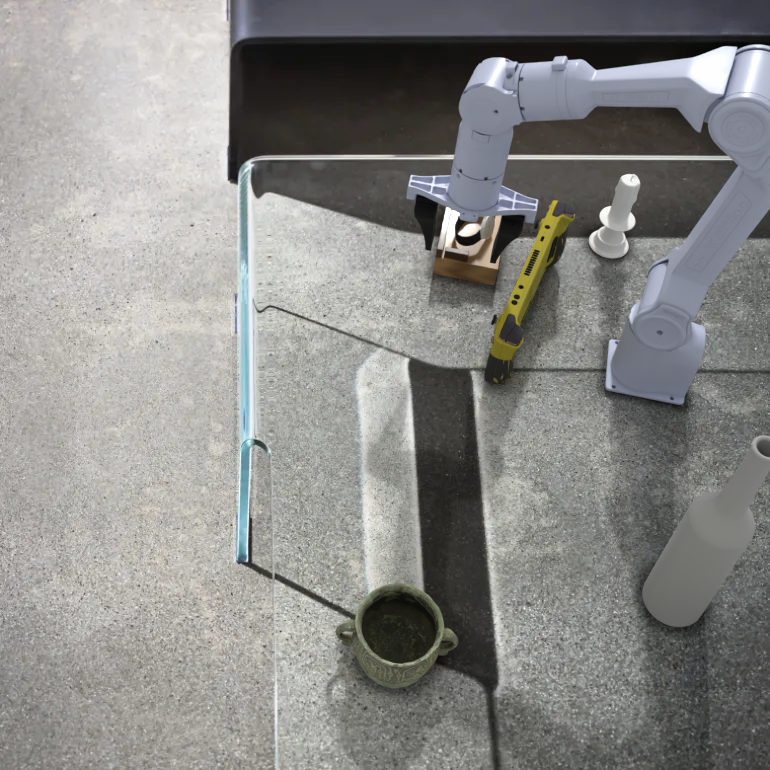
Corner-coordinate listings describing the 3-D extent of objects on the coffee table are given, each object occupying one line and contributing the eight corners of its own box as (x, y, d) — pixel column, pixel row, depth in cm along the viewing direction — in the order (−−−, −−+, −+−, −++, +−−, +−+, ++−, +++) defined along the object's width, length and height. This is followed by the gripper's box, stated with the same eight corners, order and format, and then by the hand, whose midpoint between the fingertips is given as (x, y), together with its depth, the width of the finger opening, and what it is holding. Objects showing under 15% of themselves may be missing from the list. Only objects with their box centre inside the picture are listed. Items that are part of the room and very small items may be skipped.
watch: (476, 256, 146) (481, 236, 143) (443, 241, 147) (447, 220, 144) (502, 220, 150) (507, 200, 147) (470, 206, 151) (475, 185, 148)
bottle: (713, 590, 123) (815, 439, 101) (690, 638, 119) (791, 492, 97) (656, 560, 124) (744, 404, 102) (632, 606, 121) (718, 455, 99)
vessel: (453, 617, 118) (462, 588, 113) (452, 699, 113) (461, 673, 108) (336, 606, 118) (340, 576, 113) (329, 688, 112) (333, 661, 107)
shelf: (505, 221, 154) (511, 196, 151) (494, 285, 147) (500, 261, 143) (446, 210, 155) (450, 185, 151) (432, 273, 147) (436, 248, 144)
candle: (600, 224, 156) (623, 156, 146) (635, 242, 154) (660, 175, 145) (581, 246, 153) (603, 177, 143) (616, 265, 151) (641, 197, 142)
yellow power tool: (532, 247, 152) (548, 190, 144) (563, 257, 151) (580, 201, 143) (471, 386, 137) (484, 331, 129) (505, 398, 136) (520, 344, 128)
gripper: (407, 174, 123) (394, 262, 133) (542, 200, 122) (518, 287, 133) (418, 132, 127) (405, 221, 138) (548, 157, 127) (525, 244, 137)
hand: (461, 251), depth 136 cm, fingers open, 7 cm apart
